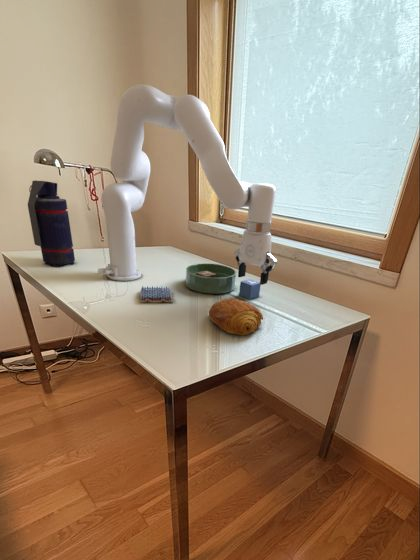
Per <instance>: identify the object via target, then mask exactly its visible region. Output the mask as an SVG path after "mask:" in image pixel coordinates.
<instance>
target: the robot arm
mask: <svg viewBox="0 0 420 560" xmlns="http://www.w3.org/2000/svg"><path fill="white" fill-rule="evenodd" d="M145 123H149V124H152V125H155V126H158V127H162V128H167V129H171V130H176V131H181V133H182V134H183V136H184V137H185V139H186V141H187V143H188V144H189V146H190V147H191V149H192V151H193V152H194V154H195V155H196V157H197V159H198V160H199V162H200V165H201V168H202V170H203V173H204V175H205V177H206V179H207V181H208V183H209V185H210V187H211V188H212V190H213V192H214V193H215V195H216V196H217V198H218V200H219V201H220V203H221V204H222V206H224V207H225V208H226V209H228V210H231V211H235V210H239V209H241V208H248V210H247V220H246V221H245V222H244V225H245V229H244V231H243V233H242V237H241V241H240V244H239V248H238V249H235V250H234V256H235V260H236V262H237V266H238V273H237V277H238V278H242V277H245V276H246V272H247V265H246V264H248V265H251V266H255V267H260V269H261V270H262V272H261V273H260V279H259V282H260V284H261V286H262V285H263V286H264V285H266V284H268V281H269V276H270V273H271V272H272V270H274V269H275V267H276V266H277V264H278V262H279V261H278V260H277V258H276V257H274V256H273V255H272V233H271V227H272V219H273V213H274V205H275V197H276V186H275V185H274V184H272V183H263V182H257V183H251V182H247V181H243V180H239V178H238V177H237V175H236V173H235V172H234V170H233V168H232V167H231V164H230V163H229V159H228V157H227V154H226V147H225V143H224V141H223V139H222V137H221V135H220V134H219V132H218V130H217V128H216V127H215V125H214V123H213V122H212V120H211V113H210V110H209V108H208V106H207V104H206V103H205V102H204V101H203V100H201V99H200V98H198V97H197V96H196V95H193V94H184V95H181V96H175V95H171V94H167V93H165V92H163V91H162V90H160V89H158V88H156V87H155V86H153V85H150V84H144V83H143V84H142V83H141V84H134V85H132V86H130V87H128V88H127V89H126V90H125V91H124V93H123V94H122V95H121V97H120V100H119V103H118V109H117V117H116V124H115V125H116V127H115V132H114V138H113V142H112V143H113V144H112V150H111V157H110V170H111V173H112V175H113V176H114V177H115V178H116V179H118V180H121V182H113V183H110V184H108V185H106V186H105V187H104V188H103V190H102V192H101V196H100V199H101V205H102V210H103V213H104V217H105V224H106V233H107V244H108V255H109V263H107V266H106V267H102V268H98V269H97V272H98V274H99V275H104V274H105V275H106V276H107V278H108V279H110V280H114V281H119V282H120V281H121V282H123V281H124V282H125V281H134V280H137V279H140V278H141V276H142V272H141V271H139V270H138V269H137V251H136V250H137V249H136V232H135V222H134V219H133V215H132V213H133V212H136V211H139V210H140V209H141V208H142V207H143V205H144V203H145V200H146V194H147V191H148V187H149V180H150V176H151V161H150V158H149V157H148V155H147V154H146V152H145V151H143V150H142V149H143V148H142V147H143V145H144V141H145V140H144V139H145V128H144V127H145Z"/></svg>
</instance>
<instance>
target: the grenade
mask: <svg viewBox="0 0 420 560" xmlns="http://www.w3.org/2000/svg"><path fill="white" fill-rule="evenodd" d="M28 190H29V197H28V200H27V209H28V215H29V221H30V226H31V231H32V236H33V237H32V238H33V243H34V245H35V246H37V247H39V248H40V251H41V256H42V261H43V263H44V264H50V265H52V266H53V267H54V268H60V267H61V266H62V265H69V264H71V265H74V264H75V261H76V258H75V257H76V256H75V251H74V248H73V247H74V243H73V237H72V230H71V223H70V217H69V211H68V203H67V200H66V199H65V198H60V196H59V195H58V183H57V182H52V181H46V180H32V181H31V185H30V186H29V189H28Z"/></svg>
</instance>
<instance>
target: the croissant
mask: <svg viewBox="0 0 420 560" xmlns="http://www.w3.org/2000/svg"><path fill="white" fill-rule="evenodd" d="M208 317H209V318H210V319H211V321H212V322H213V323H214V324H216V326H217V327H219V328H220V330H223V331H224V332H226V333H228V334H232V335H238V336H247V335H248V334H251V333H254V332H255V331H256V330H258V329H259V327H260V326H261V325H262V321H263V320H264V315H263V314H262V312H261V311H260V309H258V308H257V307H256V306H254V305H253V304H251V303H249V302H246V301H244V300H240V299H236V298H233V297H231V298H230V297H229V298H225V299H221V300H219V301H217V302H215V303H214V304H212V305H211V306H210V309H209V310H208Z"/></svg>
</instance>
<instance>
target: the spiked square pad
mask: <svg viewBox="0 0 420 560" xmlns="http://www.w3.org/2000/svg"><path fill="white" fill-rule="evenodd" d="M173 299H174V298H173V295H172V289H171V288H170V287H168V286H165V287H163V286H159V287H158V286H151V287H149V286H145V287H144V286H143V285H142V286H141V287H140V295H139V300H140V303H146V302H149V303H162V302H164V303H173V301H174V300H173Z"/></svg>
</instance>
